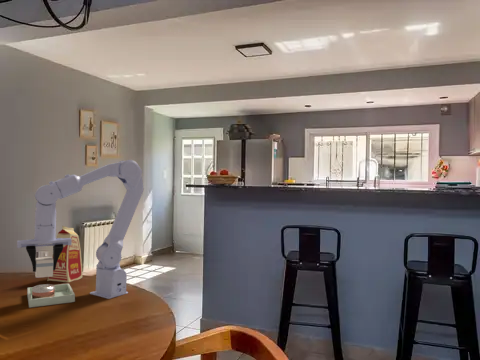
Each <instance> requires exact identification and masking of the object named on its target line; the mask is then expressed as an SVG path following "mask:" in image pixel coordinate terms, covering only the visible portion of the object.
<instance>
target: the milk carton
mask: <svg viewBox="0 0 480 360" xmlns="http://www.w3.org/2000/svg"><path fill="white" fill-rule="evenodd" d="M61 228H62V229H61V230H60V231H59V232H57V233H56V234H57V235H56V238H71V239H72V242H71V245H63V250H62V252H61V254H60V256H59V258H58V261H57V264H56V268H55V270H53V276H51V277H47V280H46V281H47V282H49V281H52V282H63V283H71V282H73V281H78V280H80V279H83V260H82V251H81V250H82V249H81V242H80V235H78V233H77V232H75V231H74V229H75V228H74V227H67V226H65V225H62V227H61ZM51 257H52V258H53V254H52V256H51Z"/></svg>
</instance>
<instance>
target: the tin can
mask: <svg viewBox="0 0 480 360" xmlns="http://www.w3.org/2000/svg"><path fill="white" fill-rule="evenodd" d="M55 285H56V284H50V283H46V284H37V285H35V286H32V287H33V288H32V299H37V298H46V297H54V296H55Z"/></svg>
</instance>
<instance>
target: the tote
mask: <svg viewBox="0 0 480 360" xmlns="http://www.w3.org/2000/svg"><path fill="white" fill-rule="evenodd" d="M54 285H55V296H54V297H46V298H37V299H32V288H33V287H34V286H32V287H27V288H26V289H27V294H26V295H27V302H28V308H38V307H44V306H53V305H61V304H69V303H75V302H76V294H75V292H74V290H73V288H72V286H71V285H70V283H61V284H59V283H58V284H54Z"/></svg>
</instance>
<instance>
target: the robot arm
mask: <svg viewBox="0 0 480 360" xmlns="http://www.w3.org/2000/svg"><path fill="white" fill-rule="evenodd" d="M142 175H143V170H142V168H141V167H140V165H139V164H138V162H137V161H135V160H133V159H126V160H121V161H118V162H114V163H108V164H106V165H103V166H100V167H98V168H96V169H94V170H91V171H88V172H86V173H85V174H82V175H80V176H79V175H77V174H71V175H70V174H69V173H68V174H64V177H62V178H59V179H57V180H55V181H53V180H51V181H49V182H48V184H45V185H41V186H40V187H38V188H37V189H36V191H35V193H34V199H35V200H36V203H35V210H34V236H33V237H34V238H33V239H31V238H30V239H22V240H16V248H17V249H21V248H25V250H26V252H27V254H28V256H29V259H30V262H31V265H32V272H33V273H35V272H36V258H37V248H38V247H52V255H53V270H55V268H56V264H57V261H58V258H59V256H60V254H61V252H62V250H63V245H71V242H72V239H71V238H57V235H56V234H57V233H56V231H57V209H56V207H57V206H56V205H57V201H58V200H59V199H60V200H63V199H65V198H67V197H69V196H72V195H74V194H77V193H79V192H82V190H83V187H84V186H85V185H87V184H88V185H89V184H91V183H93V182H96V181H98V180H102V179H104V178H108V177H113V178H118V179H119V180H120V181H121V182H122V183H123V186H124V188H125V190H126V192H125V195H124V196H123V199H122V201H121V204H120V205H119V206H120V207H119V209H118V211H117V213H116V216H115V218H114V221H113V223H112V226H111V228H110V230H109V232H108V234H107V236H106V237H105V238H104V240H103V243H102V244H101V245H99V246H98V247H97V249H96V251H95V252H96V253H95V257H96V259H97V261H98V262H97V264H96V266H95V267H96V270H95V271H96V272H95V273H96V275H95V276H96V277H95V278H96V279H95V291H91V292H89V294H90V295H93V296H97V297H101V298H104V299H108V300H109V299H113V298H116V297H120V296H123V295H126V294H128V293H129V292H128V291H127V276H128V275H127V272H126V270H124V269H123V268H121V264H120V263H121V261H122V250H123V248H124V240H125V238H126V234H127V232H128V229H129V227H130V225H131V222H132V219H133V217H134V215H135V212H136V210H137V207H138V205H139V203H140V201H141V198H142V195H143V192H144V189H145V188H144V182H143V176H142Z"/></svg>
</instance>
